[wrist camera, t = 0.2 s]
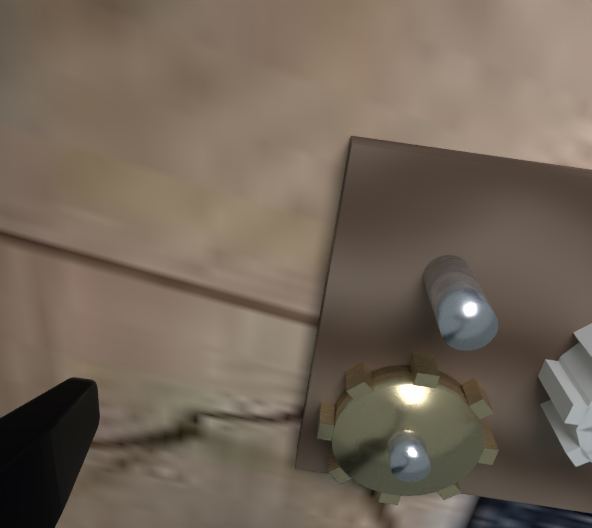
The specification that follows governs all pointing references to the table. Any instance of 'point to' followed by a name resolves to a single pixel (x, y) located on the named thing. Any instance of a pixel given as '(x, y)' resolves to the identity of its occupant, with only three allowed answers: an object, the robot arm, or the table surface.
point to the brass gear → (407, 429)
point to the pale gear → (571, 397)
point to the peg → (459, 304)
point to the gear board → (492, 279)
